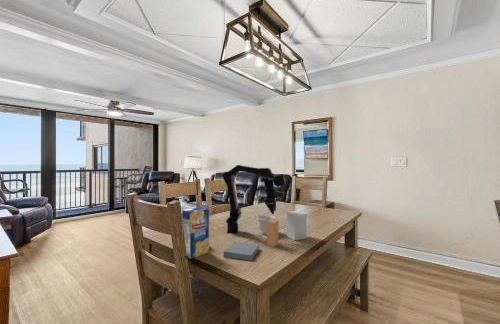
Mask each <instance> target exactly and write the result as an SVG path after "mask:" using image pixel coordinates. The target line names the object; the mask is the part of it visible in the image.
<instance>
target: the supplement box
mask: <svg viewBox="0 0 500 324" xmlns="http://www.w3.org/2000/svg"><path fill="white" fill-rule="evenodd" d="M307 218H308V217H307V213H305V212H302V211H299V210H294V211H287V212H286V237H287V238H289V239H290V240H293V241H300V240H306V239H307V228H308V227H307V225H308V223H307V220H308V219H307Z"/></svg>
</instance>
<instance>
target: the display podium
mask: <svg viewBox="0 0 500 324" xmlns="http://www.w3.org/2000/svg"><path fill="white" fill-rule="evenodd" d="M259 250H260V244H257V243H256V244H255V243H247V242H239V241H233V242H232V243H231V244H230V245H229V246H228V247H226V249H225V250H224V251H223V258H231V259H236V260H237V259H238V260H244V261H245V260H246V261H252V260H253V259H254V257H255V256H256V254H257V253H258V252H259Z"/></svg>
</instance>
